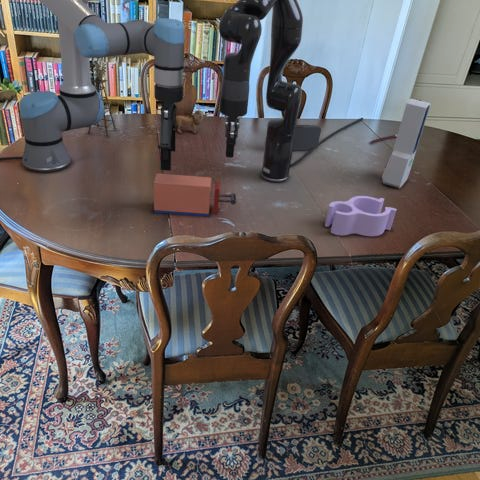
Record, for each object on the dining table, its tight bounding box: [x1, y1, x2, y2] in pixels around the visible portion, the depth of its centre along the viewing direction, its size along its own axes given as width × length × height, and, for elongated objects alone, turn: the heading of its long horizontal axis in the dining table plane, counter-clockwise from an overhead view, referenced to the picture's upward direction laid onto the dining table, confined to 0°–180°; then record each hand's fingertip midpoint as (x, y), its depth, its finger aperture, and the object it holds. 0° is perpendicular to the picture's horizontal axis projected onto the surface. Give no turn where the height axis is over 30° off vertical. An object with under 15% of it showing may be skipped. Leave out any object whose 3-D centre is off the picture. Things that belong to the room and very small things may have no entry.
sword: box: [370, 133, 398, 145], centre depth 214 cm, size 31×3×1 cm, turn 126°
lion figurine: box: [174, 109, 204, 134], centre depth 195 cm, size 15×5×9 cm, turn 110°
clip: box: [324, 195, 398, 237], centre depth 141 cm, size 20×12×7 cm, turn 109°
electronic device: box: [381, 98, 432, 189], centre depth 166 cm, size 12×8×30 cm, turn 148°
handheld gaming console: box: [291, 124, 322, 152], centre depth 189 cm, size 23×3×10 cm, turn 108°
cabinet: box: [153, 173, 212, 217], centre depth 139 cm, size 16×6×10 cm, turn 91°
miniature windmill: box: [87, 57, 117, 137], centre depth 181 cm, size 9×8×30 cm
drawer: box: [209, 181, 237, 214], centre depth 140 cm, size 20×5×8 cm, turn 92°
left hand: (168, 160), depth 133 cm, fingers open, 13 cm apart
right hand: (229, 156), depth 133 cm, fingers closed
